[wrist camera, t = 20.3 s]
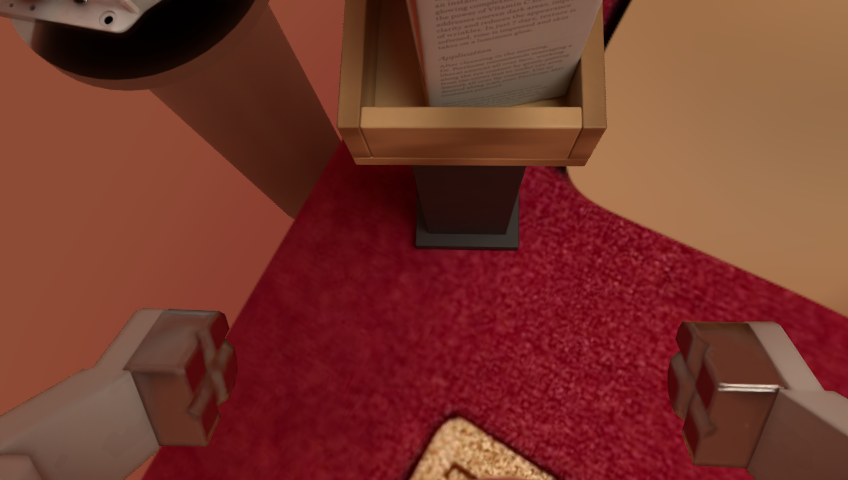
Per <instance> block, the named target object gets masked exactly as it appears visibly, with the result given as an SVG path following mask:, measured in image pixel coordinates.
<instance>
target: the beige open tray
mask: <svg viewBox="0 0 848 480" xmlns="http://www.w3.org/2000/svg"><path fill="white" fill-rule="evenodd" d="M337 128H338V130H339V132H340V134H341V136H342V138H343V140H344V142H345V144H346V146H347V148H348V150H349V152H350V153H351V155H352V157H353V159H354V161H355V163H356V164H357V165H487V166H585V164H586V162H587V161H588V159H589V158H590V156H591V154H592V152H593V150H594V149H595V147H596V145H597V144H598V142H599V140H600V138H601V137H602V135H603V133H604V132H605V130H606V128H607V120H606V91H605V66H604V38H603V11H602V3H601V6H600V8H599V11H598V13H597V16H596V19H595V21H594V24H593V26H592V29H591V32H590V34H589V36H588V39H587V41H586V44H585V46H584V49H583V52H582V54H581V57H580V59H579V62H578V65H577V67H576V69H575V72H574V75H573V77H572V80H571V83H570V85H569V87H568V91H567V93H566V94H565V95H563V96H559V97H553V98H549V99H544V100H539V101H534V102H529V103H524V104H519V105H514V106H509V107H426V102H425V97H424V92H423V87H422V82H421V77H420V72H419V67H418V62H417V56H416V51H415V46H414V41H413V36H412V31H411V26H410V21H409V16H408V11H407V6H406V1H405V0H345V9H344V24H343V40H342V54H341V69H340V84H339V99H338V114H337Z"/></svg>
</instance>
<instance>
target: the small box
mask: <svg viewBox="0 0 848 480" xmlns="http://www.w3.org/2000/svg"><path fill="white" fill-rule="evenodd" d="M405 1H406V6H407V11H408V16H409V21H410V26H411V31H412V36H413V41H414V46H415V51H416V56H417V62H418V67H419V72H420V77H421V82H422V87H423V92H424V97H425V102H426V107H509V106H514V105H519V104H524V103H529V102H534V101H539V100H544V99H549V98H553V97H559V96H563V95H565V94H566V93H567V91H568V87H569V85H570V83H571V80H572V77H573V75H574V72H575V69H576V67H577V65H578V62H579V59H580V57H581V54H582V52H583V49H584V46H585V44H586V41H587V39H588V36H589V34H590V32H591V29H592V26H593V24H594V21H595V19H596V16H597V13H598V11H599V8H600V6H601V3H602V1H603V0H405Z"/></svg>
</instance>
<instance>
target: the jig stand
mask: <svg viewBox="0 0 848 480" xmlns="http://www.w3.org/2000/svg"><path fill="white" fill-rule="evenodd" d="M525 168H526V166H487V165H412V169H413V173H414V177H415V181H416V185H417V217H416V248H417V249H456V250H515V251H517V250H518V248H519V189H520V185H521V182H522V178H523V175H524V172H525Z"/></svg>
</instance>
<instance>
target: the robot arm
mask: <svg viewBox="0 0 848 480" xmlns="http://www.w3.org/2000/svg"><path fill="white" fill-rule="evenodd" d="M172 1H173V0H0V16H2V17H6V18H11V19H17V20H23V21H28V22H34V23H39V24H45V25H50V26H56V27H61V28H67V29H72V30H78V31H83V32H89V33H94V34H100V35H105V36H111V37H116V38H126V37H129V36H131V35H132V34H133V33H134V32H135V31H136V30H137V29H138V28H139V27H140V26H141V25H142V24H143V23H144V21H145V20H146V19H147V18H148V16H150V15H151V14H152V13H154V12H155V11H157V10H158V9H160V8H162V7H164V6H165V5H167V4H169V3H170V2H172ZM111 21H113V22H112V23H110V22H111ZM109 23H110V24H109ZM228 330H229V326H228V323H227V320H226V316H225V314H223V313H221V312H220V311H202V310H180V309H168V310H166V309H146V308H143V309H140V310H138V311H136V312H135V313H134V314H133V315H132V316H131V318H130V319H129V321H128V322H127V323H126V324H125V326H124V327H123V328H122V330H121V331H120V332H119V334H118V335H117V336H116V338H115V339H114V340H113V342H112V343H111V344H110V345H109V347H108V348H107V349H106V351H105V352H104V353H103V355H102V356H101V357H100V359H99V360H98V361H97V363H96V364H95V365H94V367H93V368H92V369H83V370H81V371H79V372H77V373H76V374H74V375H72V376H70V377H68V378H66V379H65V380H63V381H61V382H59V383H58V384H56V385H54V386H52V387H50V388H49V389H47V390H45V391H44V392H41V393H40V394H38V395H36V396H34V397H33V398H31V399H29V400H27V401H26V402H24V403H22V404H20V405H18V406H17V407H15V408H13V409H11V410H10V411H8V412H6V413H4V414H2V415H0V480H125V479H126V478H127V477H128V476H129V475H130V474H132V473H133V472H134V471H135V470H136V469H137V468H138V467H140V466H141V465H142V464H143V463H144V462H145V461H146V460H148V459H149V458H150V457H151V456H152V455H153V454H154V453H156V452H157V451H158V450H159V449H160V447H159V446H207V445H208V443H209V441H210V439H211V437H212V434H213V432H214V430H215V428H216V426H217V423H218V421H219V419H220V417H221V416H220V413H219V409H218V405H220V404H221V403H222V402H224V401H225V400H227V399H228V398H229V397H230V395H231V392H232V390H233V388H234V385H235V380H236V375H237V356H236V352H235V348H234V346H232V345H231V344H230V343H229V342H228V341H227V340H226V339H225V336H226V334H227V332H228ZM676 341H677V344H678V346H679V349H680V351H679V352H678V353H677V354H676V355H674V356H673V357H672V358H671V359H670V364H669V369H668V393H669V398H670V402H671V405H672V408H673V411H674V412H675V413H676V414H677V415H678V416H680V417H681V418H682V419H683V420H685V422H684V426H683V429H682V435H683V438H684V440H685V443H686V446H687V448H688V451H689V454H690V456H691V459H692V462H693V464H694V465H697V466H713V467H728V468H744V469H747V472H748V473H749V474H750V475H751V476H752V477H753V478H754V479H755V480H848V399H846V398H845V397H843V396H841V395H840V394H838V393H836V392H835V391H824V389H823V388H822V386H821V385H820V383H819V382H818V380H817V379H816V377H815V376H814V374H813V373H812V371H811V370H810V369H809V367H808V366H807V364H806V363H805V361H804V360H803V358H802V357H801V355H800V354H799V352H798V351H797V349H796V348H795V346H794V345H793V343H792V342H791V340H790V339H789V337H788V336H787V335H786V333H785V332H784V330H783V329H782V327H781V326H780V325H779V324H777V323H775V322H743V323H740V322H682V324H681V325H680V327H679V329H678V332H677V336H676Z"/></svg>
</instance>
